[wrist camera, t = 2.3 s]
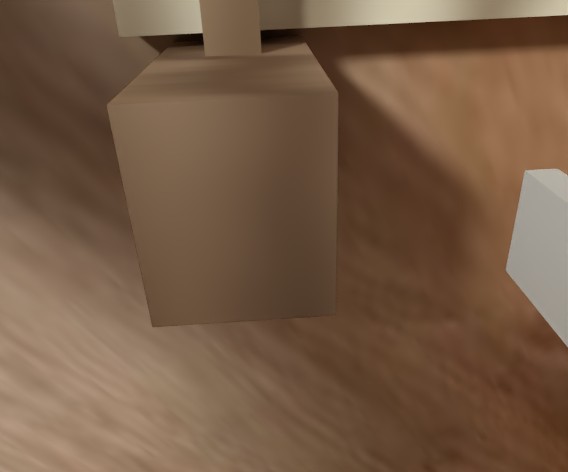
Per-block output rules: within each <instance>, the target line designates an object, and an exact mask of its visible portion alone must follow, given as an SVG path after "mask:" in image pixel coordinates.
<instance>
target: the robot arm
mask: <svg viewBox="0 0 568 472" xmlns="http://www.w3.org/2000/svg"><path fill="white" fill-rule="evenodd" d="M506 272H507V273H508V274H509V275H510V276H511V278H512V279H513V280H514V281H515V283H516V284H517V285H518V286H519V288H520V289H521V290H522V291H523V293H524V294H525V295H526V296H527V297H528V299H529V300H530V301H531V302H532V304H533V305H534V306H535V307H536V309H537V310H538V311H539V312H540V314H541V315H542V316H543V317H544V318H545V320H546V321H547V322H548V323H549V325H550V326H551V327H552V328H553V330H554V331H555V332H556V333H557V335H558V336H559V337H560V338H561V340H562V341H563V342H564V343H565V344H566V346H567V347H568V175H566V174H565V173H563V172H562V171H560V170H559V169H542V170H525V173H524V178H523V184H522V189H521V194H520V199H519V204H518V210H517V215H516V220H515V225H514V230H513V235H512V241H511V246H510V251H509V256H508V261H507V266H506Z"/></svg>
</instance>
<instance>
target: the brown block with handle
mask: <svg viewBox="0 0 568 472" xmlns="http://www.w3.org/2000/svg"><path fill="white" fill-rule="evenodd" d="M199 3H200V12H201V21H202V31H203V40H204V41H189V42H173V43H172V44H171V45H170V46H169V47H167V48H166V49H165V50H164V51H163V52H162V53H161V54H160V55H159V56H158V57H157V58H156V59H155V60H154V61H153V62H152V63H151V64H149V65H148V66H147V67H146V68H145V69H144V70H143V71H142V72H141V73H140V74H139V75H138V76H137V77H136V78H135V79H134V80H133V81H131V82H130V83H129V84H128V85H127V86H126V87H125V88H124V89H123V90H122V91H121V92H120V93H119V94H118V95H117V96H116V97H115V98H114V99H112V100H111V101H110V102H109V103H108V104H107V110H108V115H109V120H110V125H111V130H112V134H113V139H114V144H115V149H116V154H117V159H118V163H119V168H120V173H121V178H122V183H123V188H124V192H125V197H126V202H127V207H128V212H129V217H130V221H131V226H132V231H133V236H134V241H135V245H136V250H137V255H138V260H139V265H140V270H141V274H142V279H143V284H144V289H145V294H146V299H147V303H148V308H149V313H150V318H151V323H152V327H162V326H178V325H193V324H209V323H225V322H240V321H256V320H272V319H287V318H303V317H318V316H334V315H336V274H337V183H338V91H337V90H336V88H335V87H334V85H333V84H332V82H331V81H330V79H329V78H328V76H327V75H326V73H325V72H324V70H323V69H322V67H321V65H320V64H319V62H318V61H317V59H316V58H315V56H314V55H313V53H312V52H311V50H310V49H309V47H308V46H307V44H306V43H305V41H304V39H303V38H302V36H290V37H269V38H261V36H260V19H259V2H258V0H199Z"/></svg>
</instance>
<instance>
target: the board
mask: <svg viewBox="0 0 568 472" xmlns="http://www.w3.org/2000/svg"><path fill="white" fill-rule="evenodd" d="M112 1H113V6H114V11H115V17H116V22H117V28H118V33H119V37H132V36H153V35H173V34H193V33H203V31H202V21H201V12H200V3H199V0H112ZM258 2H259V19H260V30H274V29H295V28H315V27H335V26H356V25H376V24H396V23H417V22H437V21H457V20H478V19H498V18H518V17H538V16H559V15H568V0H258Z"/></svg>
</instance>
